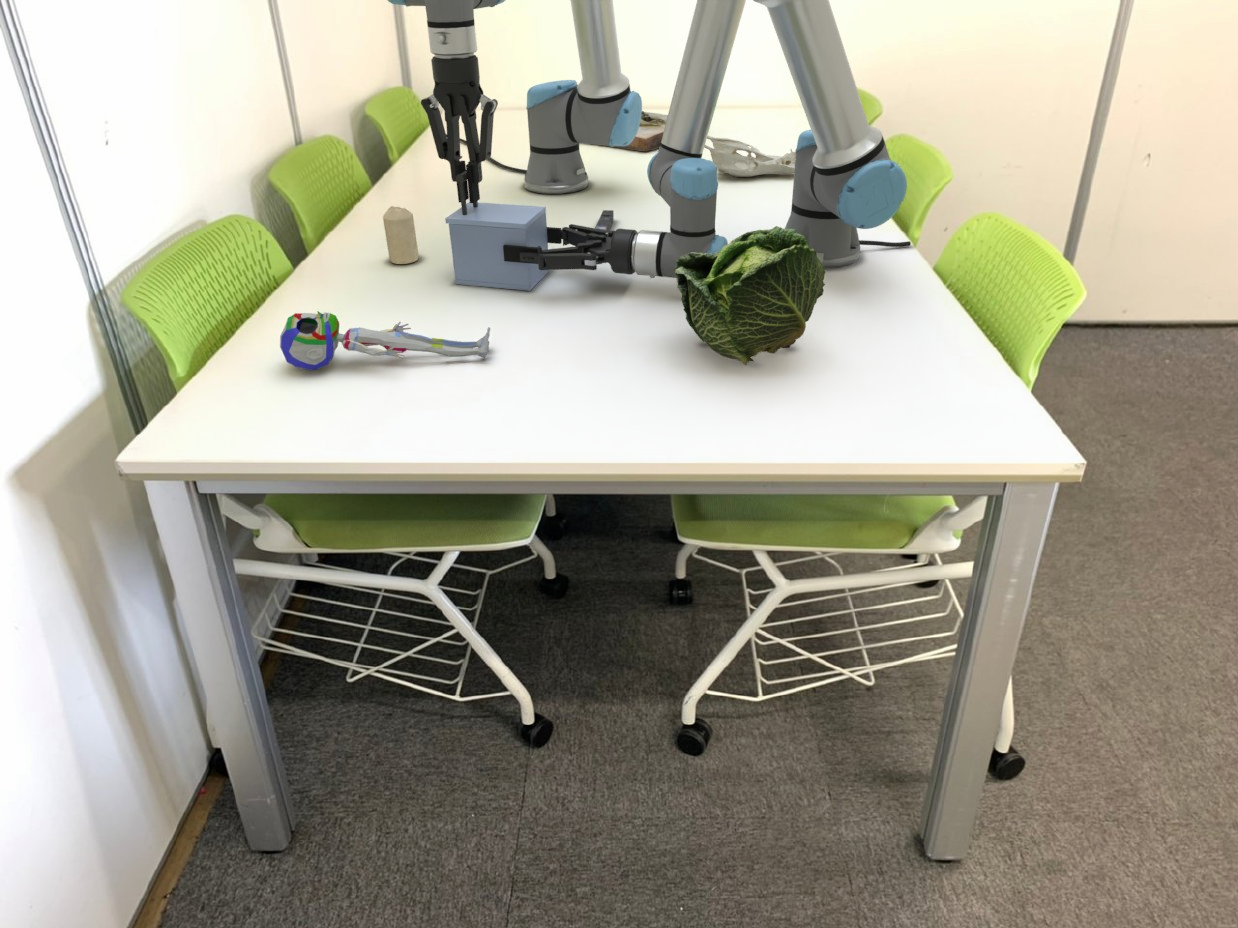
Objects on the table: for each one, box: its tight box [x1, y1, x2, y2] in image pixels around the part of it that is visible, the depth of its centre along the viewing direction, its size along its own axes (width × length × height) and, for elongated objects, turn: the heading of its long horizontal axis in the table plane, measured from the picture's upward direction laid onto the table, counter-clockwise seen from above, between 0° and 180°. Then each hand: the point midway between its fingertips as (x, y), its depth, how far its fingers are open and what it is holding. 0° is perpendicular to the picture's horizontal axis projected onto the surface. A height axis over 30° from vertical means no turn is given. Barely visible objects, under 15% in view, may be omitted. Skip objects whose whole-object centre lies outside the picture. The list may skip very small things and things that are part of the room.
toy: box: [279, 311, 491, 371], centre depth 133 cm, size 10×8×30 cm
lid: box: [444, 170, 547, 229], centre depth 156 cm, size 15×10×8 cm
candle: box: [382, 205, 420, 265], centre depth 169 cm, size 6×6×10 cm
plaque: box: [604, 110, 668, 152], centre depth 257 cm, size 30×7×30 cm
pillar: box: [594, 209, 615, 231], centre depth 182 cm, size 2×2×20 cm
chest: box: [448, 211, 550, 292], centre depth 161 cm, size 14×10×11 cm
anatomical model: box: [704, 135, 796, 178], centre depth 219 cm, size 15×9×25 cm
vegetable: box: [674, 225, 826, 366], centre depth 131 cm, size 20×19×20 cm
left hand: (469, 200), depth 158 cm, fingers closed on lid, 1 cm apart
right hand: (515, 243), depth 159 cm, fingers closed on chest, 10 cm apart
